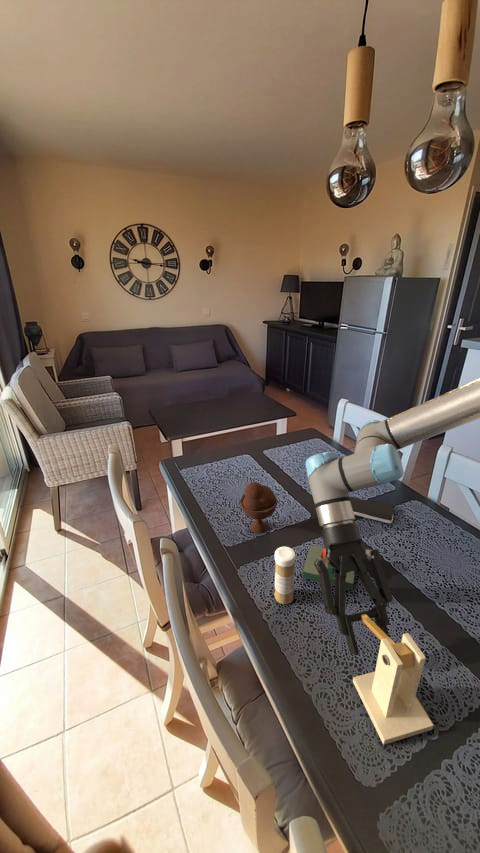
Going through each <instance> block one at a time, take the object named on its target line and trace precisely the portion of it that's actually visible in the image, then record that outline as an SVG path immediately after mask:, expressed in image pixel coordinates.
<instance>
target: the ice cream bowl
mask: <svg viewBox="0 0 480 853" xmlns="http://www.w3.org/2000/svg"><path fill="white" fill-rule="evenodd" d="M278 503H279V499H277V497H276V494H275V493H274V491H273V489H272V488H271V487H269V486H267V485H265V484H262V483H260V482H258V481H250V482H249V483H247V484H246V485H245V488H244V493H243V494H242V496H241V498H240V499H239V505H240V507H241V510H242V511H243V513H244V515H246V516H247V517H248V518H251V519H253V520H254V521H252V522H250V525H249V529H250V531H251V532H253V533H255V534H264V533H265V532H267V531H268V529H269V525H268V524H267V522H266V521H264V520H265V519H267V518H269V517H271V516H273V515H274V513H275V511H276V508H277V507H278Z"/></svg>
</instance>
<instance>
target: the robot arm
mask: <svg viewBox="0 0 480 853" xmlns="http://www.w3.org/2000/svg"><path fill="white" fill-rule="evenodd" d="M479 419H480V378H478V379H476V380H473V381H471V382H468V383H466V384H463V385H461V386H459V387H456V388H455V389H452V390H450V391H448V392H446V393H443V394H440V395H439V396H436V397H434V398H432V399H430V400H427V401H425V402H423V403H419V404H418V405H416V406H413V407H411V408H409V409H406V410H404V411H402V412H400V413H398V414H395V415H392V416H391V417H388V418H386V419H383V420H380V419H379V420H377V419H376V420H375V419H374V420H372V419H371V420H368V421H365V422H364V423H363V424H362V425H361V427H360V428H359V430H358V432H357V435H356V443H355V448H354V453H352V454H349V455H346V456H343V457H338V454H337V453H336V452H335V451H325V452H321V453H315V454H313V455H311V456H309V457H308V458H307V459H306V461H305V470H306V475H307V481H308V485H309V487H310V492H311V495H312V499H313V502H314V508H315V511H316V516H317V519H318V524H319V526H320V527H321V528H323V529H321V532H320V533H321V537H322V541H323V544H324V548H326V554H325V557H324V558H322V559H321V560H317V561H315V562H314V565H315V567H316V569H317V571H318V573H319V578H320V582H319V584H320V589H321V594H322V595H321V596H322V602H323V607H324V611H325V613H326V614H328V615H331V616H335V618H336V621H337V625H338V629H339V632H340V634H341V635H343V636H345V640H346V644H347V647H348V652H349V653H350V654H351V655H353V656H359V655H360V651H359V646H358V644H357V640H356V636H355V631H354V627H353V622H352V623H351V619H350V616H349V615H350V614H346V589H345V584H346V577H347V573H348V572H350V571H354V572H355V575H357V576H358V578H359V580H360V582H361V584H362V585H363V587H364V589H365V590H366V593H367V594H368V596H369V598H370V600H371V601H372V603H373V605H374V606H373V607H371V610H373V609H376V610H377V612H378V616H377V617H373V618H374V623H375V624H376V625H377V626H378V627H379V628H380V629H381V630H382V631H383V632H384V633H385V634H386V635H387V636H388V637H389V638H390V639H391V636H390V632H389V630H388V627H387V626H389V625H390V619H389V615H388V612H387V609H386V608H388V603H391V602H393V595H392V592H391V588H390V587H389V584H388V581H387V578H386V575H385V573H384V570H383V567H382V564H381V561H380V558H381V557H380V551H379V550H378V549H366V548H365V546H364V545H363V544H362V538H361V535H360V531H359V528H358V524H356V522H354V521H355V520H356V515H354V513H353V509H352V506H351V502H350V499H349V497H350V495H349V493H353V492H356V491H360V490H365V489H369V488H372V487H377V486H382V485H387V484H389V483H391V482H394V481H397V480H400V479H402V478H403V476H404V473H405V472H404V467H403V462H402V459H401V457H400V454H399V452H398V451H399V450H401V449H403V448H406V447H409V446H412V445H414V444H416V443H419V442H421V441H424V440H427V439H429V438H432V437H436V436H438V435H440V434H443V433H445V432H448V431H450V430H454V429H456V428H459V427H461V426H464V425H466V424H470V423H472V422H474V421H476V420H479ZM365 557H366V559H367V561H368V564H369V567H370V570H371V573H372V576H373V578H372V576H370V573H369V572H368V571H369V570H368V569H367V567H366V565H365V563H364V560H365ZM328 562H329V563H330V564H331V565H332V566H333V567H334V568H335V570H334V576H335V586H334V594H333V590H332V585H331V584H330V578H329V573H328V570H327V569H328ZM373 579H374V581H373ZM333 595H334V596H333ZM379 640H380V639H379ZM380 642H381V640H380Z"/></svg>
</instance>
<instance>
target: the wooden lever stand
mask: <svg viewBox="0 0 480 853" xmlns="http://www.w3.org/2000/svg"><path fill="white" fill-rule="evenodd" d="M401 642H402V643H403V644H404V645H405V646H406V647H407V648H408V649H409V650H410V651H411V652H412V655H413V666H414V667H411V668H408V669H404V670H402V666H403V663H402V662H401V660H400V658H399V657H398V655H397V654H396V652H395V651H394V649H393V647H392V646H391V644H390V643H389V641H388V640H387V638H385V639H381V641H380V644H379V650H378V655H377V659H376V665H375V669H374V671H372V672H368V673H365V674H360V675H357V676H353V677H352V678H353V679H352V683H353V685H354V687H355V689H356V692H357V694H358V696H359V697H360V700H361V701H362V703H363V706H364V707H365V710H366V712H367V715H368V716H369V718H370V720H371V722H372V724H373V726H374V728H375V730H376V732H377V735H378V736H379V739H380V741H381V743H382V745H383V746H385V745H388V744H391V743H395V742H398V741H400V740H403V739H404V740H405V739H407V738H410V737H414V736H417V735H421V734H424V733H427V732H430V731H432V730H433V728H434V723H433V722H432V719H430V717H429V715H428V714H427V712H426V710H425V709H424V707H423V706H422V704H421V702H420V700H419V699H418V698H417V692H418V690H419V686H420V681H421V677H422V674H423V670H424V667H425V663H426V659H427V658H426V656H425V655H424V653H423V652H422V650H421V648H420V647H419V646H418V644H417V643H416V641H415V640H414V639H413V637H412V636H411V635H410V633H409V632H405V633H403V634H402V638H401Z"/></svg>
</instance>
